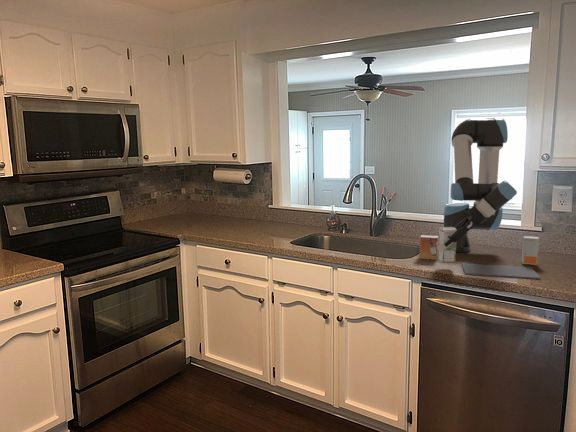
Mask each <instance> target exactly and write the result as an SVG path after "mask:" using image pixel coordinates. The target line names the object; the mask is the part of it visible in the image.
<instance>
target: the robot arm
mask: <svg viewBox="0 0 576 432" xmlns="http://www.w3.org/2000/svg"><path fill="white" fill-rule="evenodd" d="M508 133H509V132H508V125H507V122H506V120H505V119H504V118H499V117H491V118H490V117H489V118H488V117H487V118H485V117H483V118H468V119H466V120H463V121H462V122H460V123H459V124H458V125H457V126H456V127H455V129H454V130H453V132H452V136H451V146H452V147H453V156H454V158H453V159H454V161H453V162H454V182H453V183H451V185H450V199H451V200H452V201H460V202H454V203H450V204H447V205H445V206H444V208H443V209H444V211H443V226H442V227H454V228H455V229H457V231H456V232H455V233H454V234H453V235H452V236H451V237H450V236H448V238H447V239H446V240H445V241H444V242H443V243H441V244H440V245H439V240H438V242H437V243H436V245H437V246H438V245H439V246H438V247H437V249H438V250H439V251H440V252H443V251H444V250H445V249H446V248H447V247H449V246H450V245H451V244H452V243H454V242H456V253H468V252H471V243H470V239H469V236H468V235H469V234H468V232H469V231H470V230H477V231H478V230H481V231H482V230H483V231H497V230H498V229H499V228H500V227H501V223H502V219H503V211H504V210H503V206H504V205H505V204H507V203H508V202H509V201H511V200H513V198H515V196H516V195H517V194H518V192H517V190H516V189H515V187H514V186H512V184H510V183H509V182H508V181H506V180H503V181H500V183H499V182H498V174H499V163H500V162H499V161H500V151H501V149H502V148H504V144H507V142H508ZM473 144H476V148H478V150H479V160H478V161H479V163H478V178H477V179H478V182H476V183H474V174H473V173H474V172H473V156H472V155H473V154H472V145H473ZM462 201H467V202H462ZM468 201H469V202H470V201H471V202H473V205H470V203H469V202H468Z"/></svg>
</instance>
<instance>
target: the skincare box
mask: <svg viewBox="0 0 576 432" xmlns="http://www.w3.org/2000/svg"><path fill="white" fill-rule="evenodd" d="M522 238H523V239H522V248H521V261H520V262H521V264H522V265H531V266H538V260H539V259H538V257H539V247H540V237H538V236H530V235H529V236H525V235H524V236H522Z"/></svg>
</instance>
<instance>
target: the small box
mask: <svg viewBox="0 0 576 432" xmlns="http://www.w3.org/2000/svg"><path fill="white" fill-rule="evenodd" d="M419 240H420V241H419V257H418V258H419V259H421V260H422V259H424V260H430V259H431V261H438V249H437V247H438V246H437V245H436V243H437V242H438V241H439V235H426V234H421V235H420V239H419Z"/></svg>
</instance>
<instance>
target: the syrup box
mask: <svg viewBox="0 0 576 432" xmlns="http://www.w3.org/2000/svg"><path fill="white" fill-rule="evenodd" d="M438 229H439V230H438V241H439V245H440V244H441V243H443V242H444V241H445V240H446V239H447V238H448V236H450V237H451V236H452V235H453V234H454V233H455V232H456V231H457V229H455V228H454V227H443V226H442V227H441V226H440V227H438ZM439 245H438V246H439ZM456 255H457V252H456V242H454V243H452V244H451V245H450V246H449V247H447V248H446V249H445V250H444V251H443V252H440V251H439V250H438V255H437V260H438V261H440V262H441V263H456Z"/></svg>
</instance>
